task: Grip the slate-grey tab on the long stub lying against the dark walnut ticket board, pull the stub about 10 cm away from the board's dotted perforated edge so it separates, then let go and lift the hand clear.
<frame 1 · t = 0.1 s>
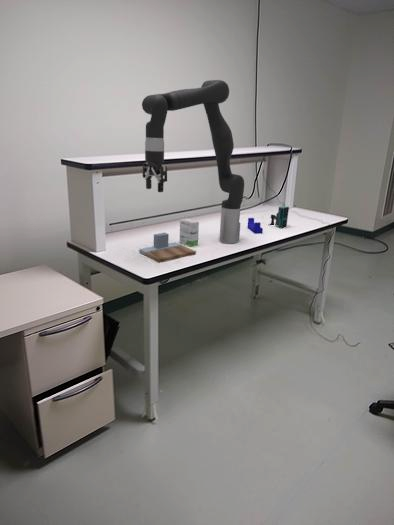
hand: (154, 190, 165), 29 cm above the table, tool pointing down, fingers open, 8 cm apart
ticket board: (171, 255, 178), on the table
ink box: (188, 244, 195), on the table
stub: (161, 242, 182), point 4 cm above the table, slide at 0.0 cm
blue bent block: (254, 231, 223), on the table
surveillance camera: (276, 226, 235), on the table
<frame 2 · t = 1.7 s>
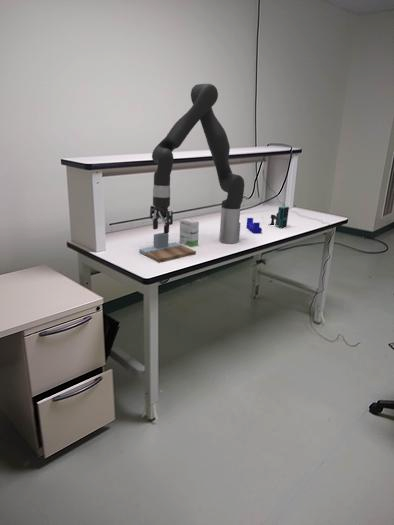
hand: (160, 231, 180), 9 cm above the table, tool pointing down, fingers open, 8 cm apart
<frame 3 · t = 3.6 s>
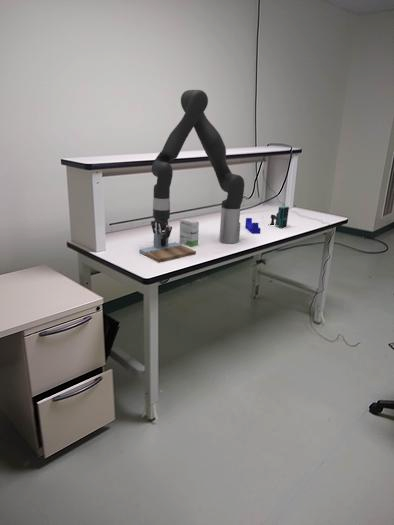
hand: (161, 244, 183), 3 cm above the table, tool pointing down, fingers closed on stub, 3 cm apart
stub: (161, 242, 182), point 4 cm above the table, slide at 0.0 cm, touching gripper
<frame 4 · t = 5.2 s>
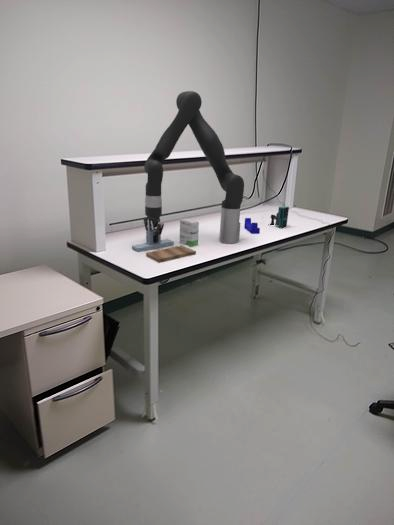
hand: (153, 241, 187), 3 cm above the table, tool pointing down, fingers closed on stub, 3 cm apart
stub: (153, 238, 187), point 4 cm above the table, slide at 6.2 cm, touching gripper
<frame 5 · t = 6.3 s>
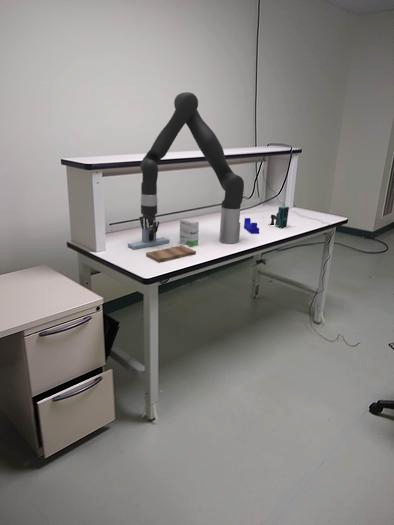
hand: (149, 239, 190), 3 cm above the table, tool pointing down, fingers closed on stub, 3 cm apart
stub: (149, 236, 189), point 4 cm above the table, slide at 9.9 cm, touching gripper
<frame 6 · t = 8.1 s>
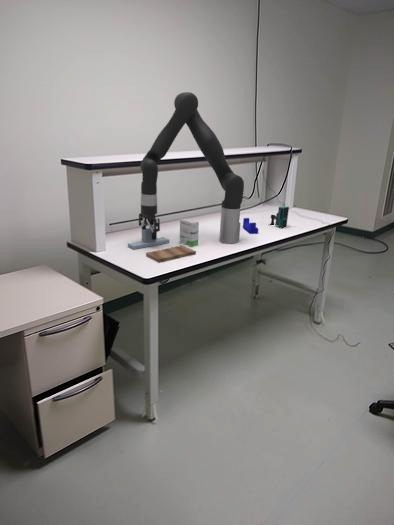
hand: (149, 237, 189), 4 cm above the table, tool pointing down, fingers open, 8 cm apart
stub: (149, 236, 189), point 4 cm above the table, slide at 9.9 cm
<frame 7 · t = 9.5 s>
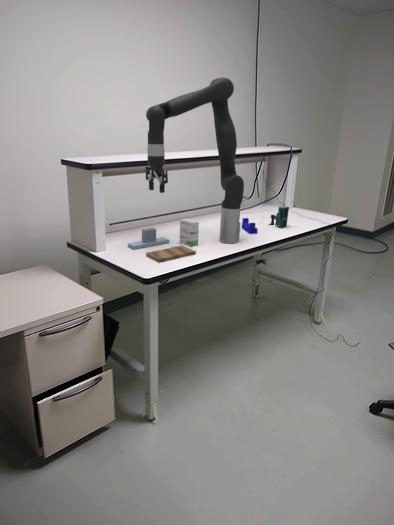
hand: (156, 191, 183), 25 cm above the table, tool pointing down, fingers open, 8 cm apart
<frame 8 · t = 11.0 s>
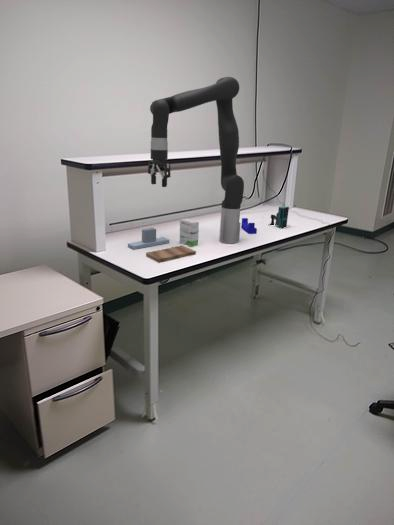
hand: (158, 185, 182), 28 cm above the table, tool pointing down, fingers open, 8 cm apart
at the end: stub slide at 9.9 cm; the gripper is holding nothing; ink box moved 0.2 cm from its start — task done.
